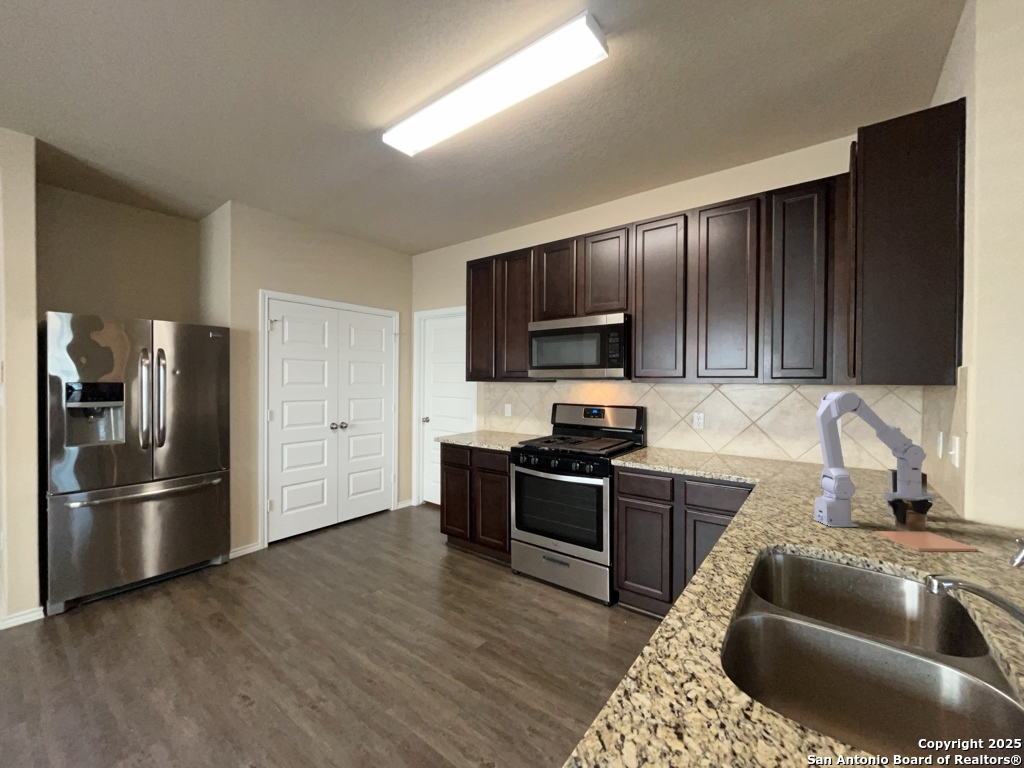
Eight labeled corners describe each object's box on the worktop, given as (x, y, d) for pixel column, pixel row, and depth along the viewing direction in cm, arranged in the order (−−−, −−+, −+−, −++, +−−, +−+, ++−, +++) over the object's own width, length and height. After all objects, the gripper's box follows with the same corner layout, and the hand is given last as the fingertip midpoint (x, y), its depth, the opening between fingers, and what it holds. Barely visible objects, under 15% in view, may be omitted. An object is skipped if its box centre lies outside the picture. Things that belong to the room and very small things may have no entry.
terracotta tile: (918, 551, 114) (918, 548, 115) (875, 533, 128) (875, 531, 129) (978, 551, 114) (978, 548, 114) (928, 534, 128) (928, 531, 128)
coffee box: (893, 517, 145) (892, 471, 146) (887, 513, 151) (886, 468, 151) (928, 521, 141) (927, 473, 141) (920, 516, 147) (920, 470, 147)
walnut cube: (909, 530, 132) (909, 514, 132) (895, 525, 137) (894, 510, 137) (925, 530, 132) (925, 514, 132) (910, 525, 137) (910, 510, 137)
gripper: (897, 483, 131) (898, 526, 130) (944, 483, 130) (945, 527, 130) (878, 478, 138) (878, 519, 137) (922, 478, 137) (923, 520, 137)
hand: (909, 522), depth 134 cm, fingers closed on walnut cube, 5 cm apart
